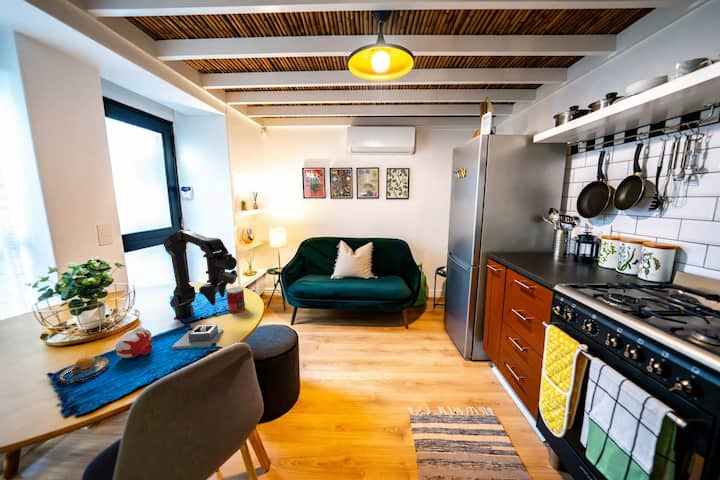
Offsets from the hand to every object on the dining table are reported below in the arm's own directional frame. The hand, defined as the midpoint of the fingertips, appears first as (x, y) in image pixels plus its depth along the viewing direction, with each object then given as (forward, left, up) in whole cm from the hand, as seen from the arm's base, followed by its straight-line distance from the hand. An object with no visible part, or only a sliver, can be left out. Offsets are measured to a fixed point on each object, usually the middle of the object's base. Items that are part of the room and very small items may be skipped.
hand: (218, 301), depth 115 cm
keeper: (-4, -11, -12) cm, 17 cm away
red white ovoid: (-22, -19, -12) cm, 32 cm away
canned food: (+1, +17, -12) cm, 21 cm away
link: (-2, -11, -11) cm, 16 cm away
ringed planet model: (-32, -28, -12) cm, 44 cm away
